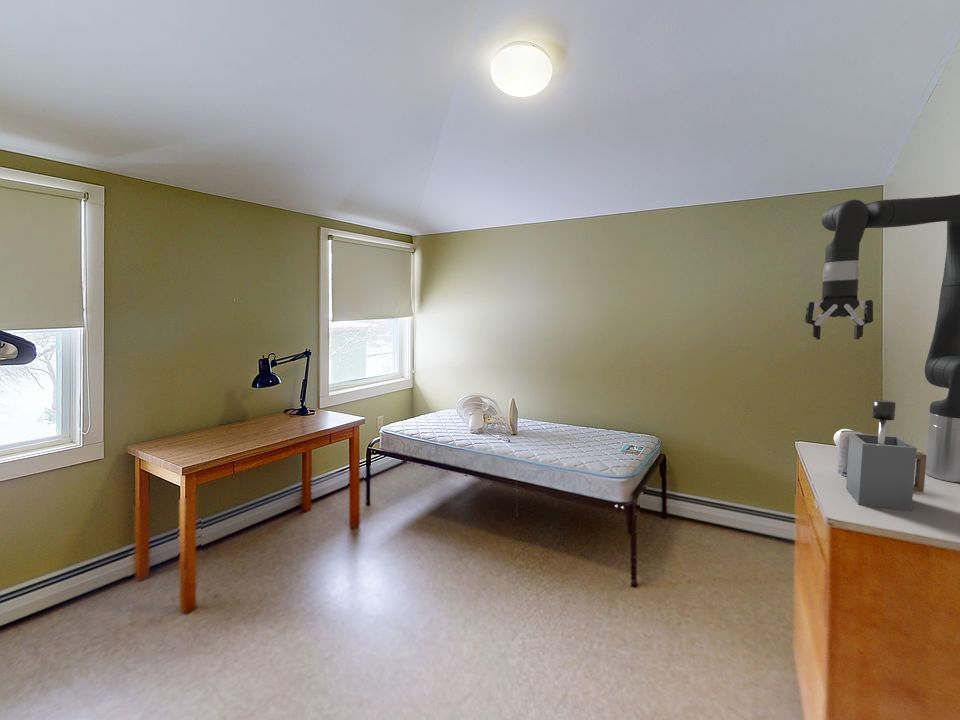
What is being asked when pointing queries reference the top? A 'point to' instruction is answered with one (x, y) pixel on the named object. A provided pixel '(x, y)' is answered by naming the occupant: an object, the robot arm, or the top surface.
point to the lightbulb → (837, 436)
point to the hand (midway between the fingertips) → (836, 339)
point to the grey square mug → (884, 471)
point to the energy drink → (844, 451)
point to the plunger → (883, 416)
